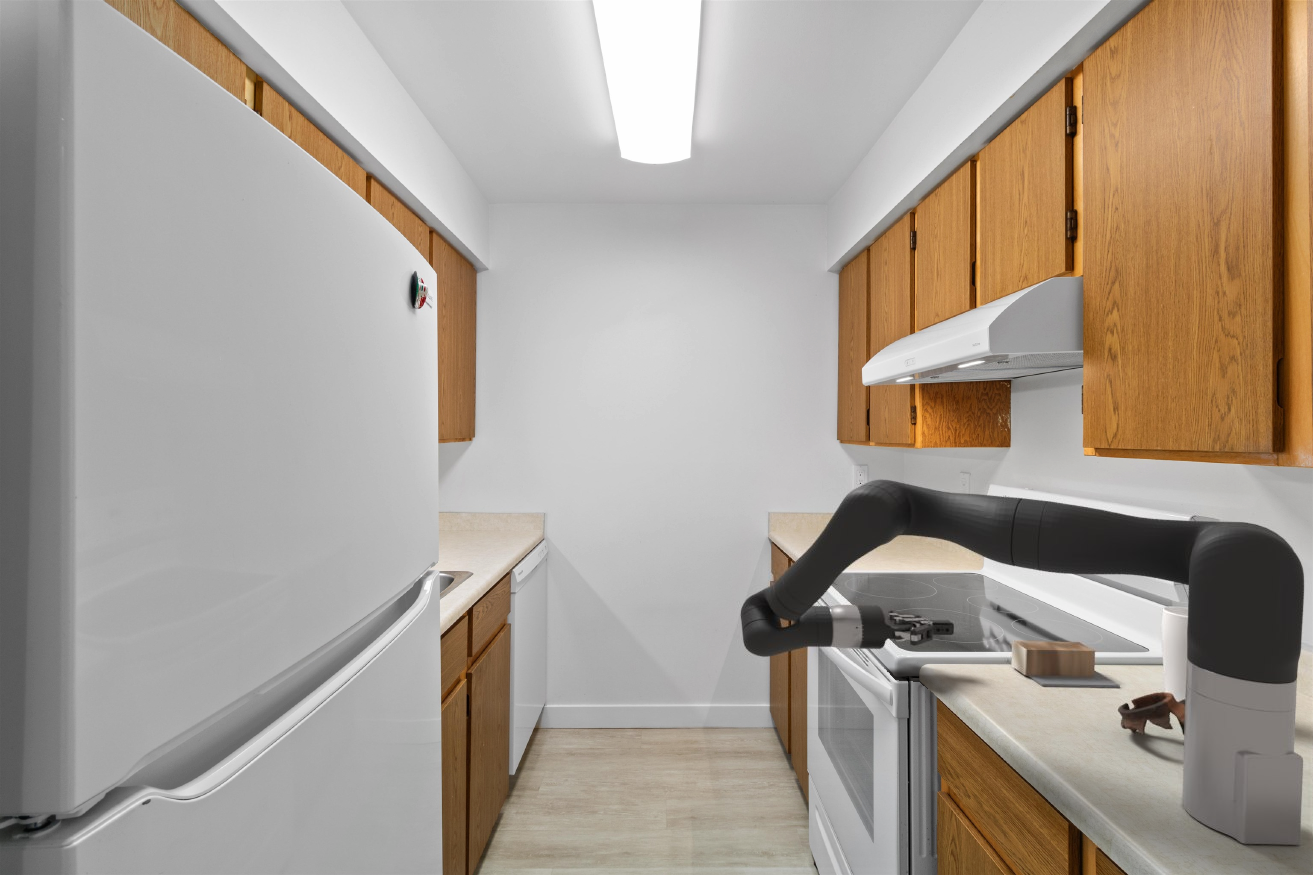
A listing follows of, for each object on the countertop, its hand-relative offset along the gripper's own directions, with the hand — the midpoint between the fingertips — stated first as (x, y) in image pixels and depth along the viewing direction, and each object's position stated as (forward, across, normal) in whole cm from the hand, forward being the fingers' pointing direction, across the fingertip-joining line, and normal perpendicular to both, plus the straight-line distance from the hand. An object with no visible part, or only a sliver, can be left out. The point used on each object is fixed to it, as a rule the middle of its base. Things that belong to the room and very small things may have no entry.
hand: (951, 627), depth 117 cm
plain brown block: (+12, 0, +5) cm, 13 cm away
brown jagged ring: (+19, -26, +9) cm, 33 cm away
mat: (+19, 0, +8) cm, 21 cm away
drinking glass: (+31, -13, +8) cm, 35 cm away
